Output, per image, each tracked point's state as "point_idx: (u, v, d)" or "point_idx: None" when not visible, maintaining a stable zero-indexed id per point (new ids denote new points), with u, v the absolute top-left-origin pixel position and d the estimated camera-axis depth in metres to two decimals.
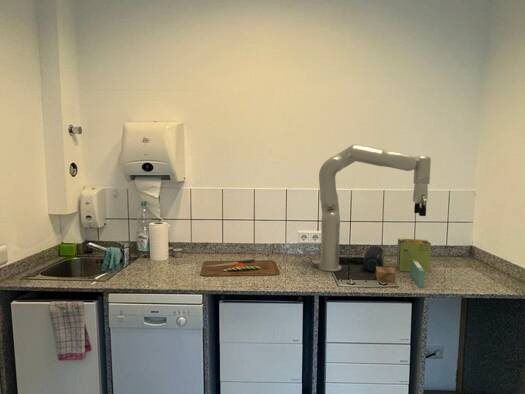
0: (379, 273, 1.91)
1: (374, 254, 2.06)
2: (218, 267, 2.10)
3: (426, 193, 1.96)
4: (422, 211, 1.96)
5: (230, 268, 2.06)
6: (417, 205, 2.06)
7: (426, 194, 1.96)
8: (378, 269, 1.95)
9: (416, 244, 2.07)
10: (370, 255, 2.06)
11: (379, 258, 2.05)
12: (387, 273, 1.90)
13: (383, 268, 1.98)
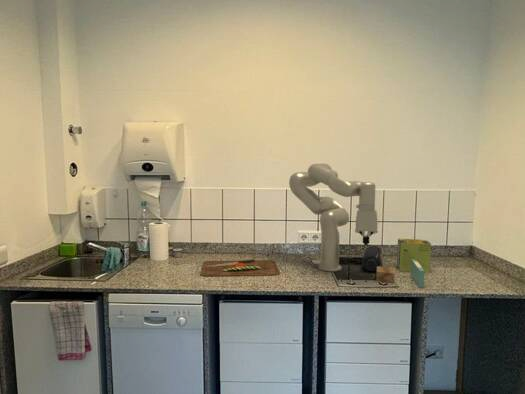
0: (378, 273, 1.91)
1: (373, 254, 2.06)
2: (218, 267, 2.10)
3: None
4: None
5: (230, 268, 2.06)
6: None
7: None
8: (378, 269, 1.96)
9: (416, 244, 2.07)
10: (369, 255, 2.06)
11: (378, 258, 2.05)
12: (386, 273, 1.90)
13: (384, 268, 1.98)
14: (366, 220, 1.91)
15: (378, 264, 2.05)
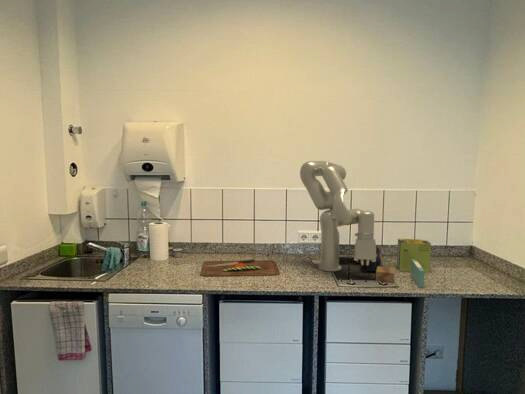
0: (377, 273, 1.92)
1: None
2: (218, 267, 2.10)
3: None
4: (367, 268, 1.96)
5: (230, 268, 2.06)
6: None
7: None
8: (377, 269, 1.96)
9: (416, 244, 2.07)
10: None
11: (377, 258, 2.05)
12: (385, 273, 1.90)
13: (384, 268, 1.98)
14: (365, 249, 1.93)
15: (377, 264, 2.05)
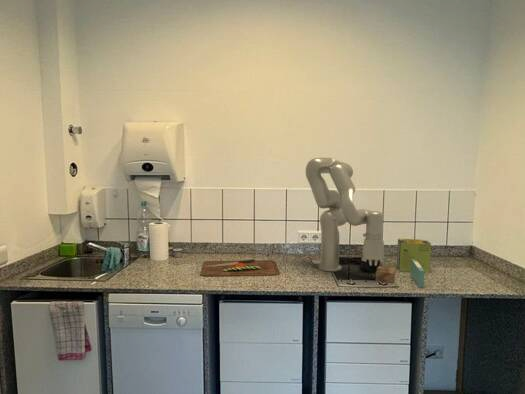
0: (377, 273, 1.92)
1: None
2: (218, 267, 2.10)
3: None
4: (375, 268, 1.95)
5: (230, 268, 2.06)
6: None
7: None
8: (378, 269, 1.96)
9: (416, 244, 2.07)
10: None
11: None
12: (385, 273, 1.90)
13: (385, 268, 1.98)
14: (373, 249, 1.92)
15: (377, 264, 2.05)
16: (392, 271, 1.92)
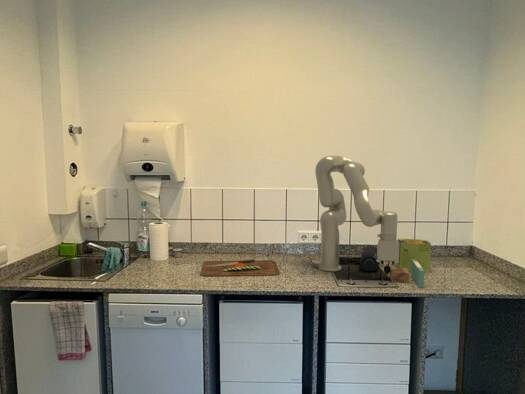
0: (393, 273, 1.91)
1: (371, 254, 2.07)
2: (218, 267, 2.10)
3: None
4: None
5: (230, 268, 2.06)
6: None
7: None
8: (392, 269, 1.95)
9: (416, 244, 2.07)
10: (367, 255, 2.06)
11: None
12: (401, 274, 1.90)
13: (397, 268, 1.98)
14: (388, 250, 1.91)
15: (376, 264, 2.05)
16: (407, 271, 1.93)
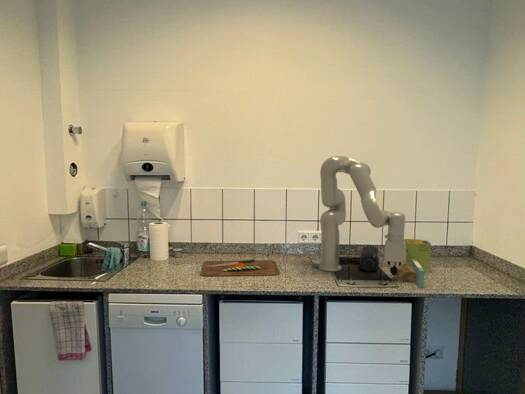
0: (400, 273, 1.91)
1: (370, 254, 2.07)
2: (218, 267, 2.10)
3: None
4: None
5: (230, 268, 2.06)
6: None
7: None
8: (398, 269, 1.96)
9: (416, 244, 2.07)
10: (367, 255, 2.06)
11: (375, 258, 2.06)
12: (408, 273, 1.91)
13: (403, 267, 1.98)
14: (395, 251, 1.91)
15: (376, 264, 2.05)
16: (413, 270, 1.94)
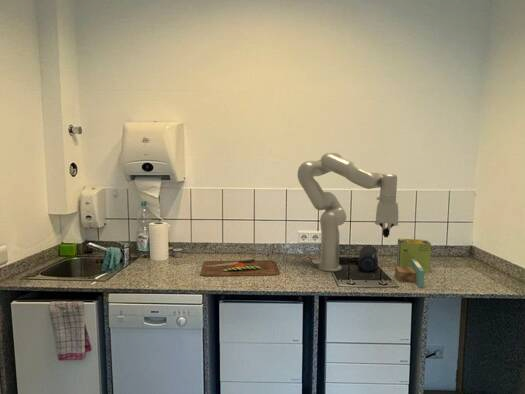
0: (400, 273, 1.91)
1: (369, 254, 2.07)
2: (218, 267, 2.10)
3: None
4: None
5: (230, 268, 2.06)
6: None
7: None
8: (398, 269, 1.96)
9: (416, 244, 2.07)
10: (366, 255, 2.06)
11: (374, 258, 2.06)
12: (408, 273, 1.91)
13: (403, 267, 1.99)
14: (387, 212, 1.90)
15: (375, 264, 2.06)
16: (413, 270, 1.94)
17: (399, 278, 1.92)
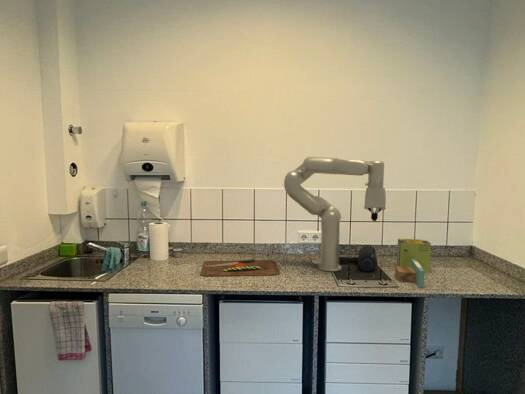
0: (400, 273, 1.91)
1: (369, 254, 2.07)
2: (218, 267, 2.10)
3: None
4: None
5: (230, 268, 2.06)
6: None
7: None
8: (398, 269, 1.96)
9: (416, 244, 2.07)
10: (365, 255, 2.06)
11: (374, 257, 2.06)
12: (408, 273, 1.91)
13: (403, 267, 1.99)
14: (375, 197, 2.00)
15: (374, 264, 2.06)
16: (413, 270, 1.94)
17: (399, 278, 1.92)
